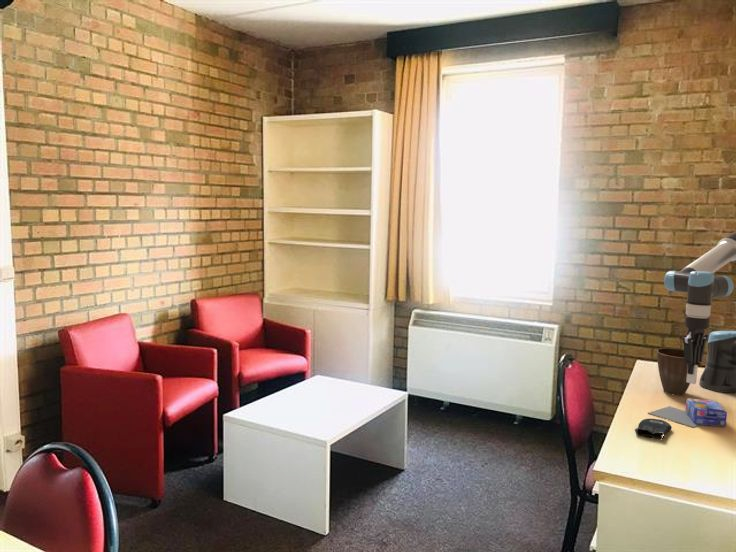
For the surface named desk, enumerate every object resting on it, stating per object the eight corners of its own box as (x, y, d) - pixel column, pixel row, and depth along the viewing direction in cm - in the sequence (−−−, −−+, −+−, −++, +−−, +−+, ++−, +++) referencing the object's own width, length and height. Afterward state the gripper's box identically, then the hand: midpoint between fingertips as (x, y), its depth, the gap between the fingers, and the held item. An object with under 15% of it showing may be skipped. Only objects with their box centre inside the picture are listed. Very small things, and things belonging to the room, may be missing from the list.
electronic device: (667, 447, 197) (673, 426, 210) (665, 430, 196) (672, 411, 209) (635, 444, 202) (643, 424, 215) (633, 428, 201) (641, 409, 214)
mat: (669, 407, 231) (669, 406, 231) (714, 420, 219) (714, 419, 218) (647, 413, 223) (647, 412, 223) (693, 427, 210) (693, 426, 210)
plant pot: (702, 399, 242) (706, 358, 240) (663, 397, 242) (666, 356, 240) (684, 387, 256) (688, 348, 254) (647, 386, 257) (650, 347, 255)
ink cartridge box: (717, 400, 222) (730, 414, 208) (715, 415, 223) (728, 431, 209) (686, 397, 224) (697, 411, 210) (684, 412, 225) (695, 427, 211)
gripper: (696, 312, 226) (690, 377, 229) (676, 316, 219) (670, 382, 222) (717, 316, 220) (711, 382, 223) (698, 319, 213) (692, 388, 216)
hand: (691, 382), depth 222 cm, fingers closed
